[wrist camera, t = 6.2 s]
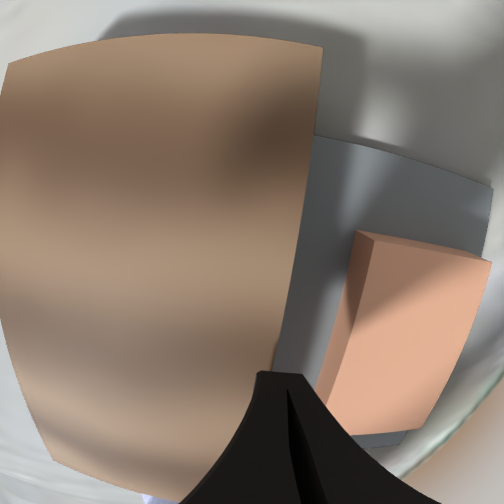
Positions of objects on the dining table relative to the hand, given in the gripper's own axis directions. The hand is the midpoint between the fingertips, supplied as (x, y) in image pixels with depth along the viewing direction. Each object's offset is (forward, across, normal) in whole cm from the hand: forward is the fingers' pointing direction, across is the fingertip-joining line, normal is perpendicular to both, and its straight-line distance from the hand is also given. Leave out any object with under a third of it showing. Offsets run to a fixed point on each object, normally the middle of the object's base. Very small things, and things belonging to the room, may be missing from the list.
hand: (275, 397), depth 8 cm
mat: (+5, -5, 0) cm, 7 cm away
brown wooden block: (+5, +6, 0) cm, 7 cm away
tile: (+2, -6, 0) cm, 6 cm away
